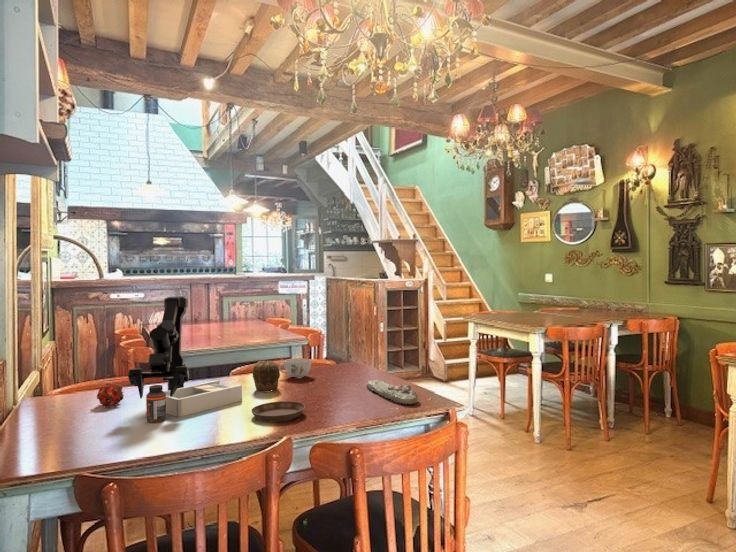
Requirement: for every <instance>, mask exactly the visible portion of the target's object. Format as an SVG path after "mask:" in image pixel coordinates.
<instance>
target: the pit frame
mask: <svg viewBox="0 0 736 552" xmlns="http://www.w3.org/2000/svg"><path fill="white" fill-rule="evenodd" d="M214 383H215V384H219V385H221V384H220V380H218V379H217V380H213V381H207V382H202V383H199V384H193V385H188V386H184V387H183V388H178V389H177V390H176V391H175V393H174V394H173V396H172V397H170V391H171V390H169V391H168V390H165V391H164V390H163V391H164V392H165V393H166V415H167V414H168V415H169V416H174V417H176V418H180V417H184V416H188V415H192V414H195V413H199V412H200V413H201V412H203V411H206V410H207V411H208V410H210V409H215V408H220V407H222V406H227V405H231V404H234V402H235V403H238V401H239V402H242V401H243V385H242V384H238V385H233V386H229V387H228V388H224V389H219V390H215V391H211V392H206V391H201V390H197V389H193V387H196V386H201V385H209V384H214ZM241 400H242V401H241Z"/></svg>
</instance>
